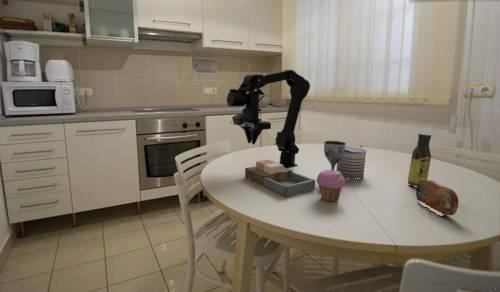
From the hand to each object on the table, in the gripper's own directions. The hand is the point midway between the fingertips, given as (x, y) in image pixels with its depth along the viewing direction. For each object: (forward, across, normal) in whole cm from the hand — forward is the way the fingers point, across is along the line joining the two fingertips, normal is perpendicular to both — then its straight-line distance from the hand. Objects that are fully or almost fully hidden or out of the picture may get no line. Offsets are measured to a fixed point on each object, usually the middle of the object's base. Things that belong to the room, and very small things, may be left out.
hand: (251, 143), depth 123 cm
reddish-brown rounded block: (+12, +62, +25) cm, 68 cm away
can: (+12, +26, +32) cm, 43 cm away
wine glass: (+12, +26, +21) cm, 36 cm away
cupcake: (+12, +39, +4) cm, 41 cm away
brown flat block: (+12, +12, 0) cm, 17 cm away
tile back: (+8, +10, 0) cm, 13 cm away
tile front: (+8, +15, 0) cm, 17 cm away
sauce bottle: (+12, +48, +43) cm, 66 cm away
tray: (+12, +24, 0) cm, 27 cm away
